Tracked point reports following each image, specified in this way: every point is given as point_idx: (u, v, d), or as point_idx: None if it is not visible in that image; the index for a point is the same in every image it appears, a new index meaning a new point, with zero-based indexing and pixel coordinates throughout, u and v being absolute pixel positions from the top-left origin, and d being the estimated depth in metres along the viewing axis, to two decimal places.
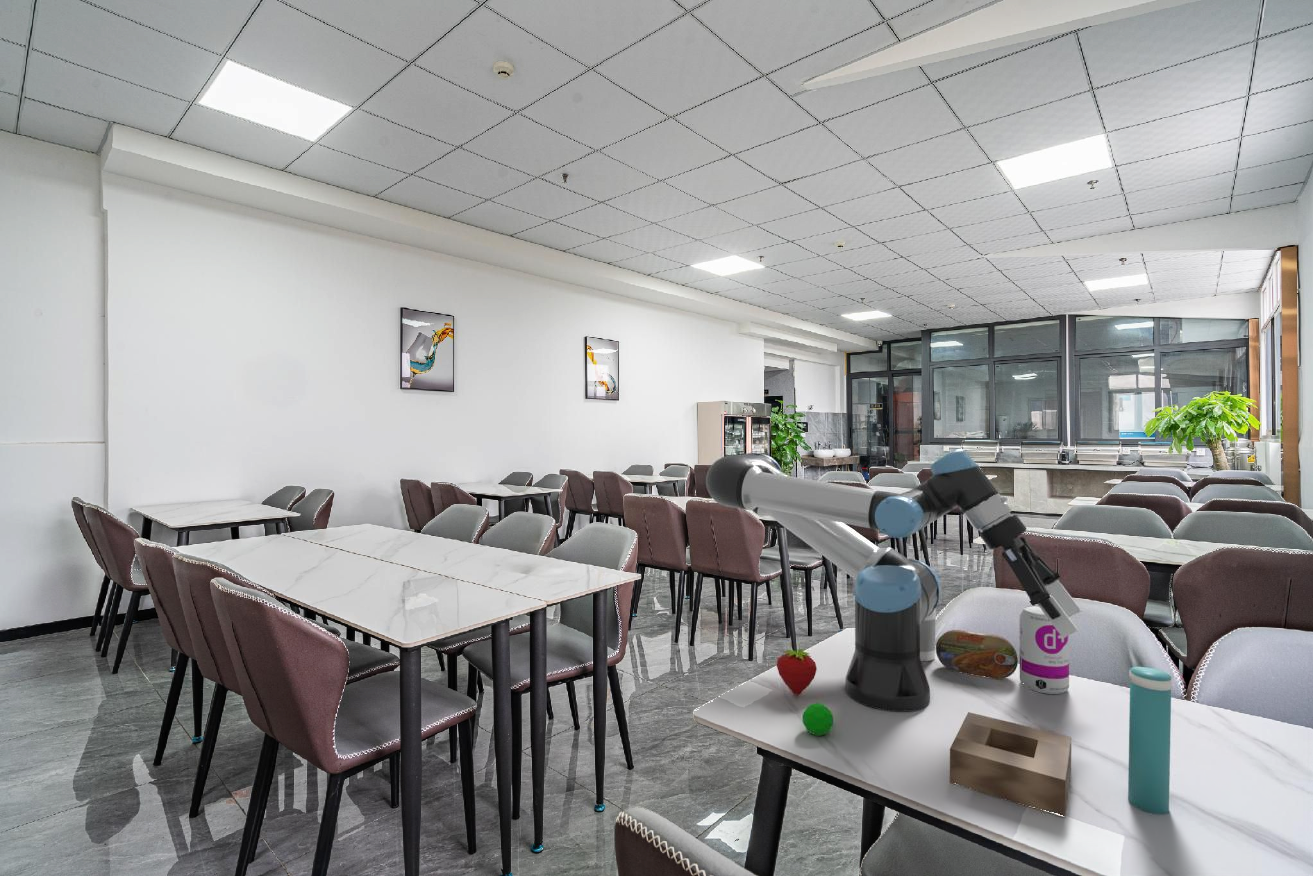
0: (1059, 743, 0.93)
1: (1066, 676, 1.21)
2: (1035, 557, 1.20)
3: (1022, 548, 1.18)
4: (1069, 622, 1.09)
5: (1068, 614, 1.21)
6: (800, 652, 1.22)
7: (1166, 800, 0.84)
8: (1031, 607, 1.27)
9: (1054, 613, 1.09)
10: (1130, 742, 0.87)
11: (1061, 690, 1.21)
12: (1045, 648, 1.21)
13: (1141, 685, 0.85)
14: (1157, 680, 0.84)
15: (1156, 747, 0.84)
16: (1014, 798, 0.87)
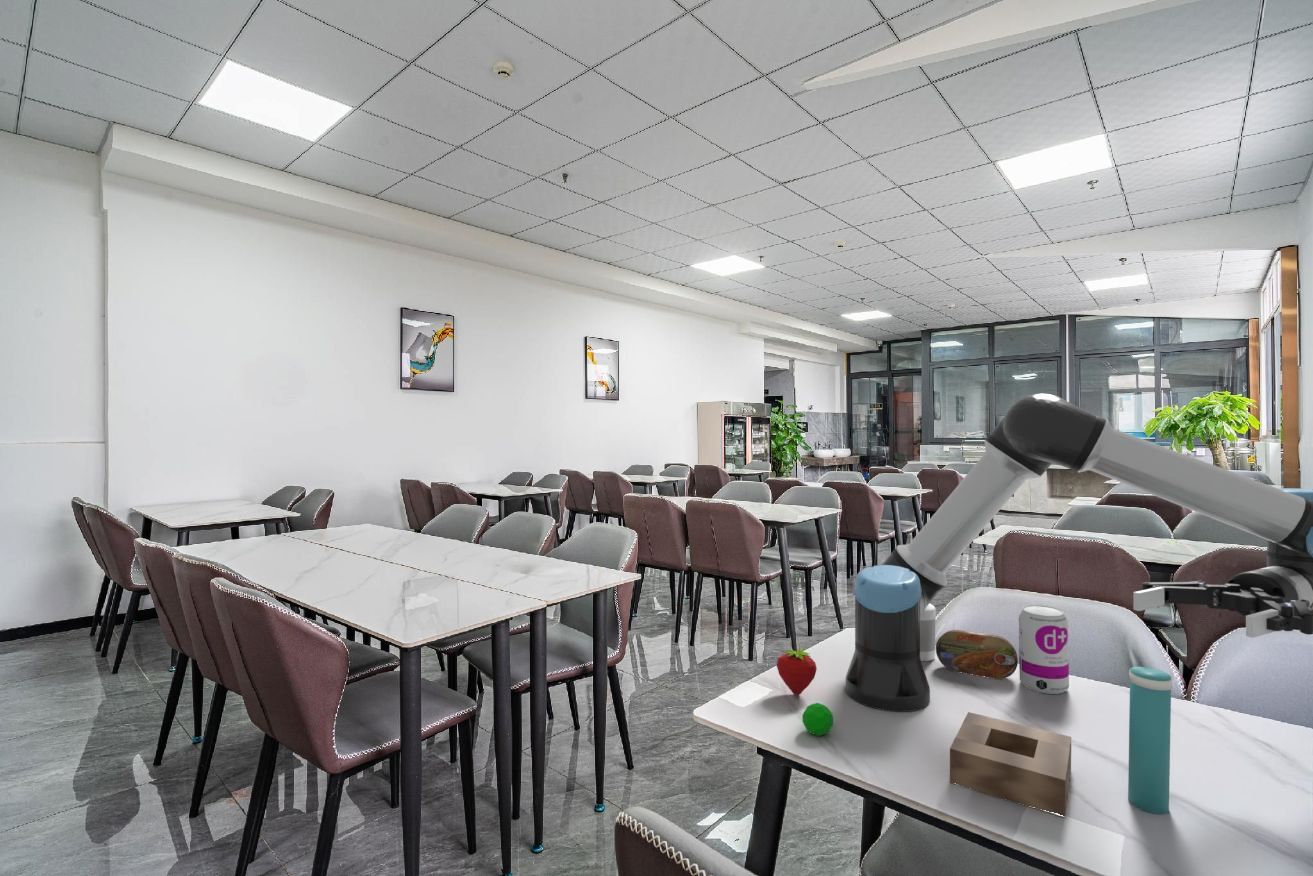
0: (1059, 743, 0.93)
1: (1066, 676, 1.21)
2: (1214, 606, 0.97)
3: None
4: (1259, 633, 0.84)
5: (1140, 596, 0.96)
6: (800, 652, 1.22)
7: (1166, 800, 0.84)
8: (1030, 607, 1.26)
9: (1281, 627, 0.84)
10: (1130, 742, 0.87)
11: (1061, 690, 1.21)
12: (1045, 649, 1.21)
13: (1141, 685, 0.85)
14: (1157, 680, 0.84)
15: (1156, 747, 0.84)
16: (1014, 798, 0.87)
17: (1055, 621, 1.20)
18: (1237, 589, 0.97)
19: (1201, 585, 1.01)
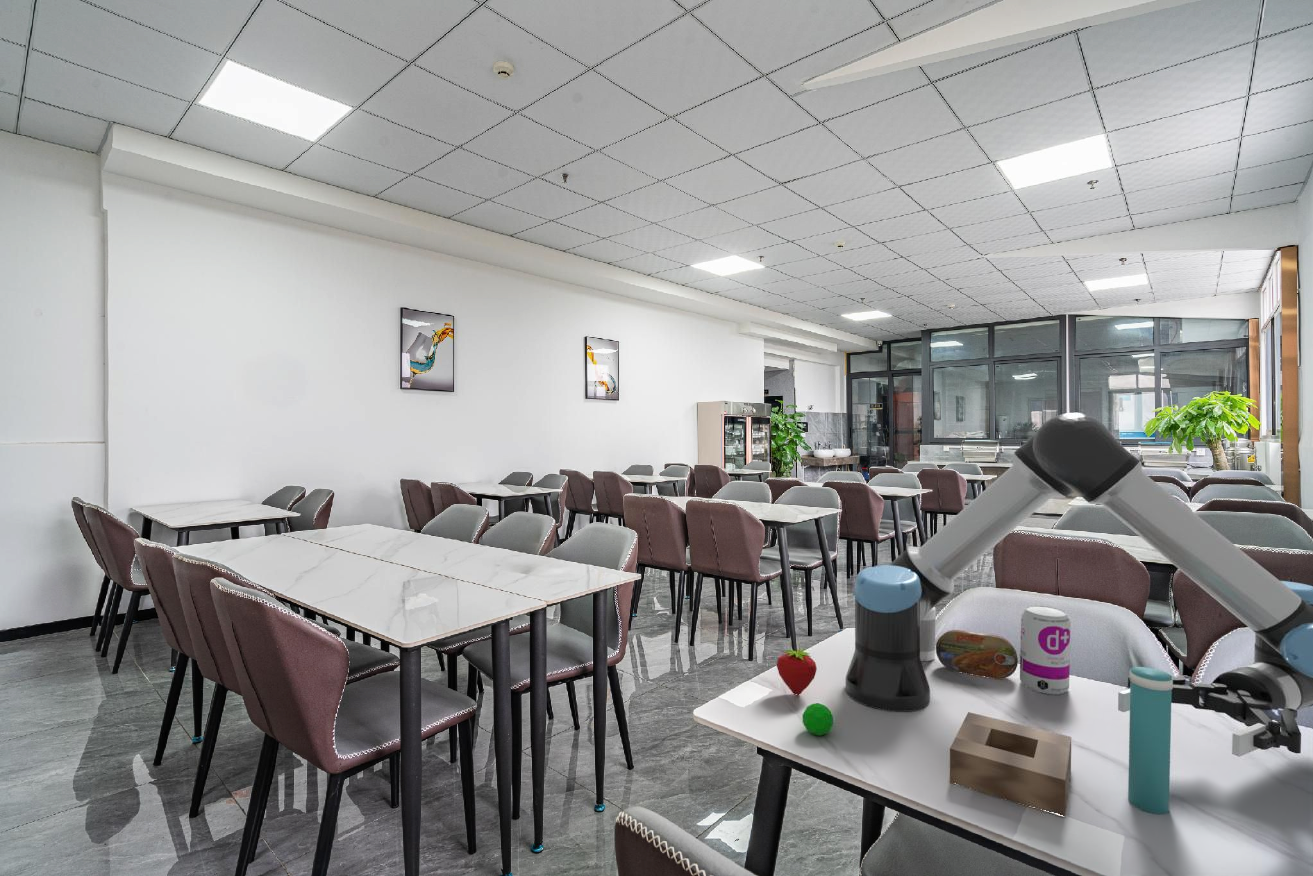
0: (1059, 743, 0.93)
1: (1067, 676, 1.21)
2: (1200, 707, 0.95)
3: None
4: (1246, 751, 0.82)
5: (1125, 697, 0.94)
6: (800, 652, 1.22)
7: (1166, 800, 0.84)
8: (1032, 607, 1.26)
9: (1268, 745, 0.82)
10: (1130, 742, 0.87)
11: (1062, 690, 1.21)
12: (1047, 649, 1.20)
13: (1141, 685, 0.85)
14: (1157, 680, 0.84)
15: (1156, 747, 0.84)
16: (1014, 798, 0.87)
17: (1058, 621, 1.20)
18: (1223, 690, 0.94)
19: (1187, 681, 0.98)
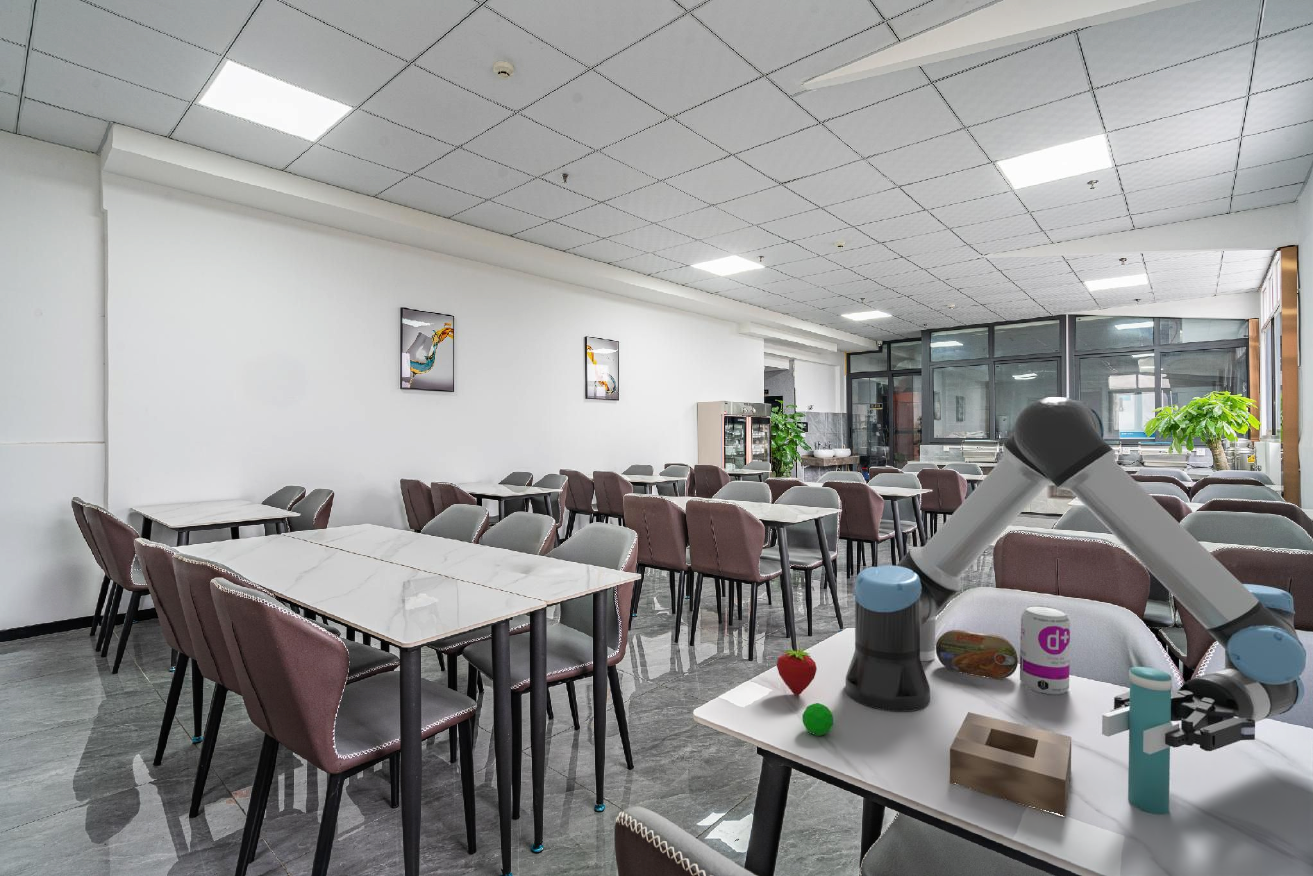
0: (1059, 743, 0.93)
1: (1067, 676, 1.21)
2: (1175, 719, 0.91)
3: None
4: (1157, 749, 0.82)
5: (1110, 720, 0.86)
6: (800, 652, 1.22)
7: (1166, 800, 0.84)
8: (1032, 607, 1.26)
9: (1179, 743, 0.82)
10: (1130, 742, 0.87)
11: (1062, 690, 1.21)
12: (1048, 649, 1.20)
13: (1141, 685, 0.85)
14: (1157, 680, 0.84)
15: None
16: (1014, 798, 0.87)
17: (1058, 621, 1.20)
18: (1191, 698, 0.91)
19: None
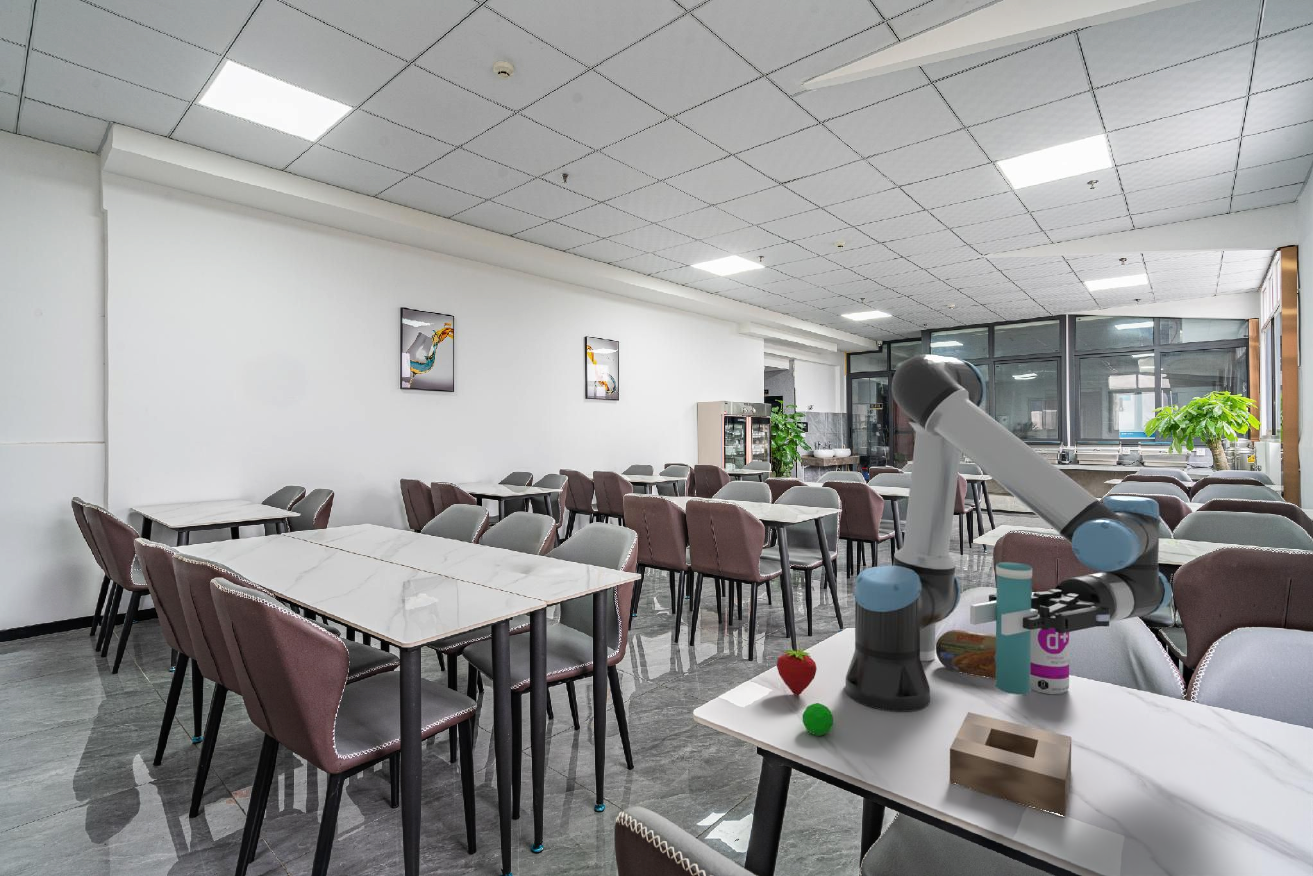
0: (1059, 743, 0.93)
1: (1067, 676, 1.21)
2: None
3: None
4: (1014, 631, 0.89)
5: (977, 609, 0.93)
6: (800, 652, 1.22)
7: (1026, 682, 0.91)
8: None
9: (1034, 626, 0.89)
10: (996, 631, 0.93)
11: (1063, 690, 1.21)
12: (1047, 649, 1.21)
13: (1004, 576, 0.92)
14: (1017, 569, 0.90)
15: None
16: (1014, 798, 0.87)
17: None
18: (1060, 595, 0.98)
19: None
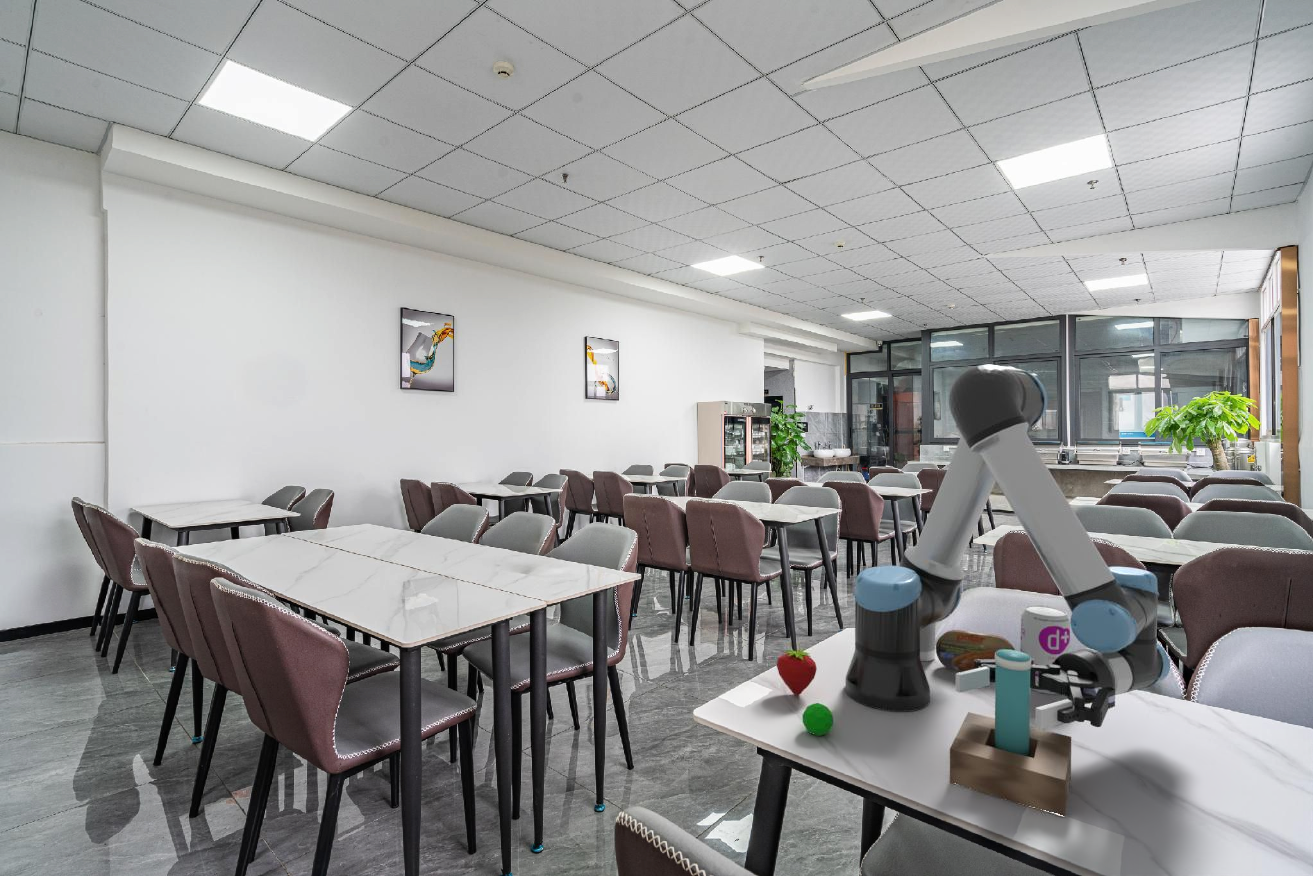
0: (1059, 743, 0.93)
1: None
2: (1036, 687, 0.99)
3: None
4: (1049, 725, 0.86)
5: (962, 678, 0.97)
6: (800, 652, 1.22)
7: None
8: (1032, 607, 1.26)
9: (1069, 719, 0.86)
10: (995, 719, 0.94)
11: None
12: (1048, 649, 1.20)
13: (1003, 666, 0.92)
14: (1016, 661, 0.91)
15: (1015, 723, 0.91)
16: (1014, 798, 0.87)
17: (1058, 621, 1.20)
18: (1057, 671, 0.98)
19: None
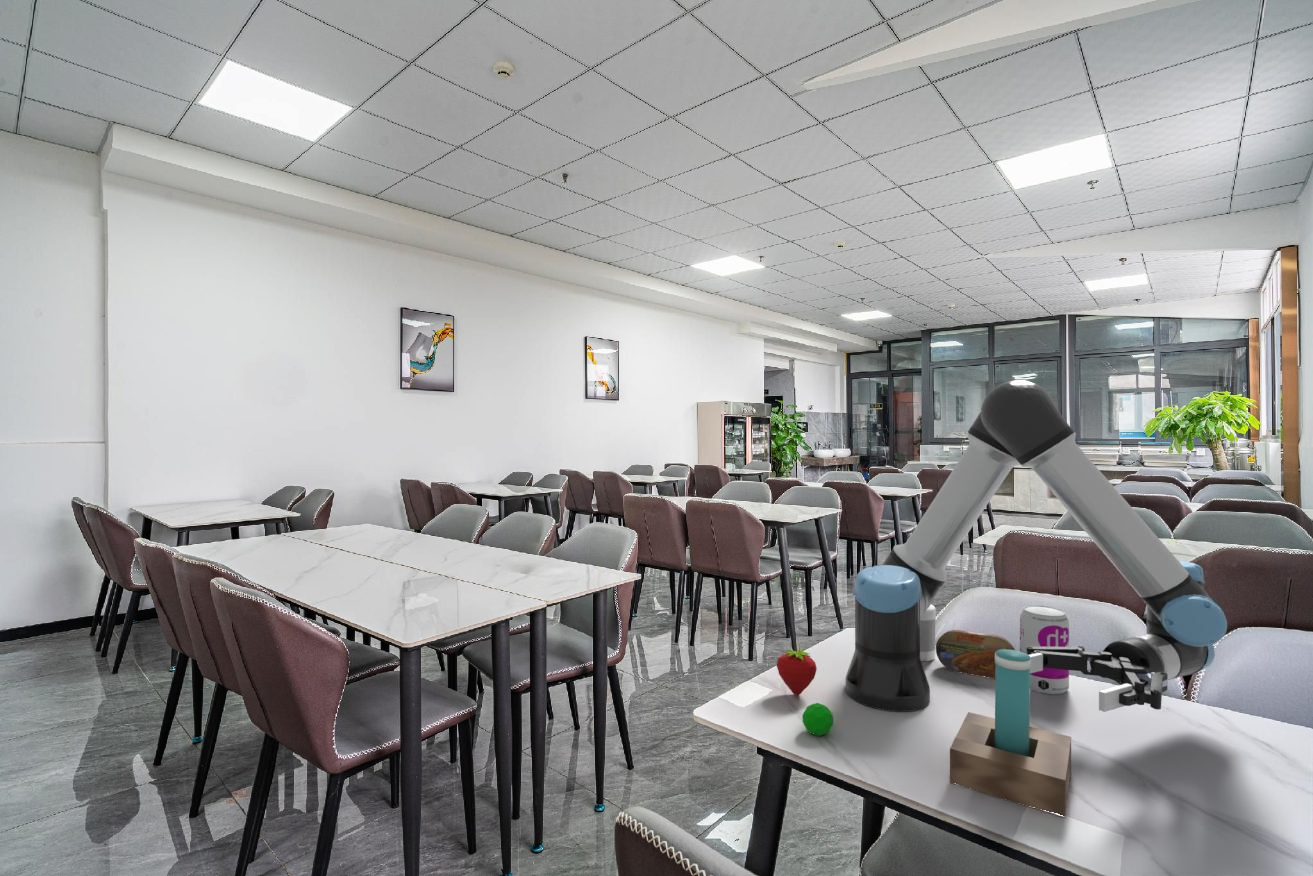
0: (1059, 743, 0.93)
1: (1067, 676, 1.21)
2: (1088, 673, 1.04)
3: None
4: (1111, 707, 0.91)
5: None
6: (800, 652, 1.22)
7: None
8: (1030, 607, 1.27)
9: (1131, 702, 0.91)
10: (995, 719, 0.94)
11: (1063, 690, 1.21)
12: None
13: (1003, 665, 0.92)
14: (1015, 660, 0.91)
15: (1015, 723, 0.91)
16: (1014, 798, 0.87)
17: (1057, 621, 1.20)
18: (1108, 658, 1.04)
19: (1080, 651, 1.08)
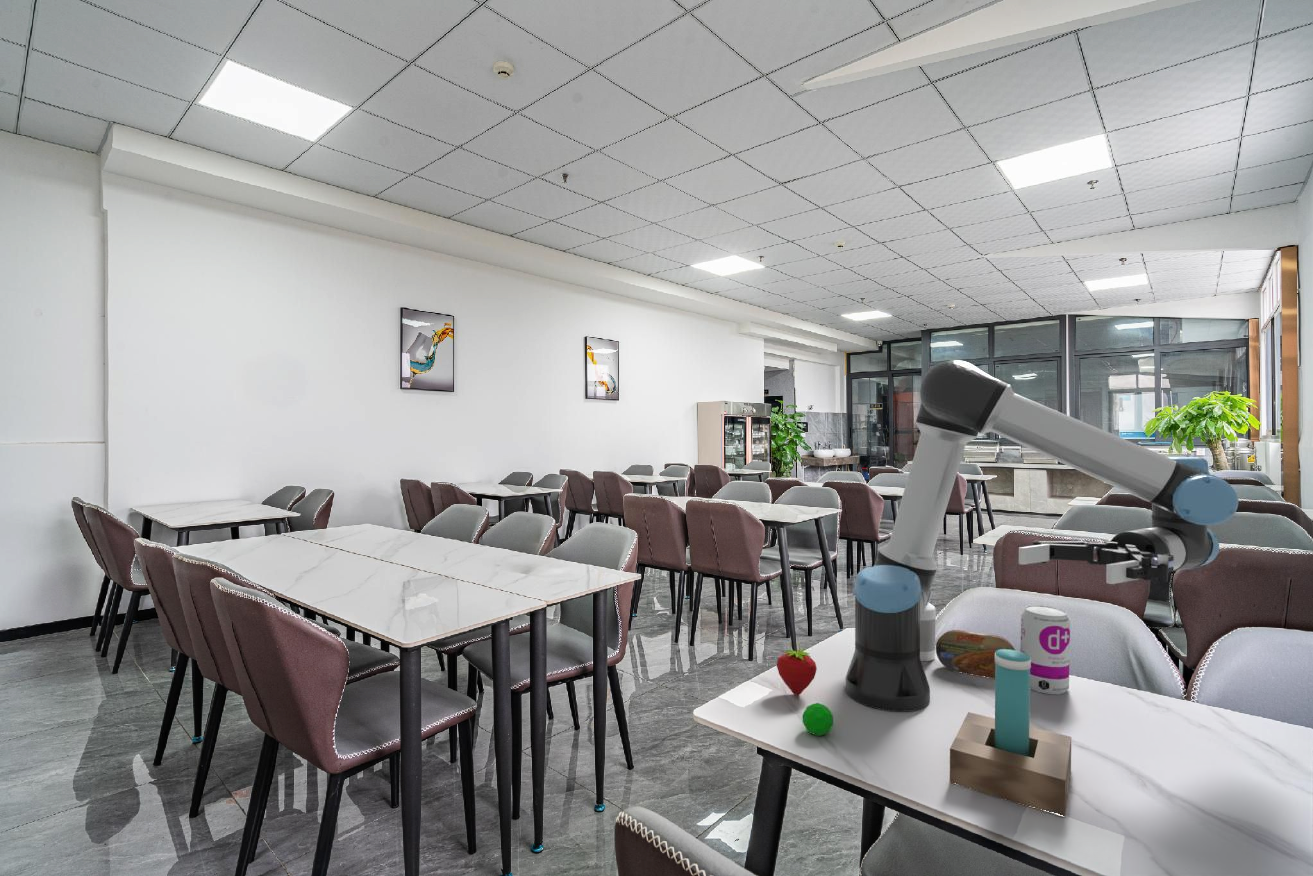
0: (1059, 743, 0.93)
1: (1067, 676, 1.21)
2: (1094, 562, 1.05)
3: None
4: (1119, 581, 0.92)
5: (1025, 551, 1.04)
6: (800, 652, 1.22)
7: None
8: (1032, 607, 1.26)
9: (1138, 575, 0.92)
10: (995, 719, 0.94)
11: (1063, 690, 1.21)
12: (1048, 649, 1.20)
13: (1002, 665, 0.92)
14: (1015, 660, 0.91)
15: (1015, 723, 0.91)
16: (1014, 798, 0.87)
17: (1059, 621, 1.20)
18: (1114, 546, 1.04)
19: (1086, 544, 1.09)
